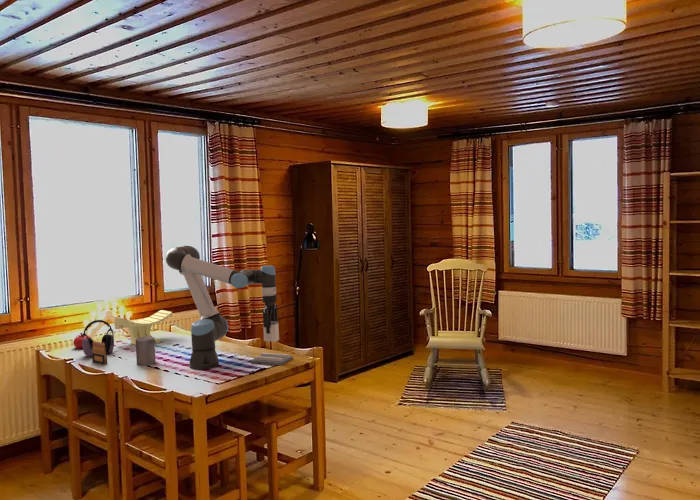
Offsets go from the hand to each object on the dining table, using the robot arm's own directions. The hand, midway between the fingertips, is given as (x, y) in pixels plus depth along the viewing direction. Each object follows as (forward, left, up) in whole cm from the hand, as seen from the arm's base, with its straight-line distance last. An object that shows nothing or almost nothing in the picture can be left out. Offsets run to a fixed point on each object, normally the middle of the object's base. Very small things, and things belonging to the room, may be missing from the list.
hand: (271, 338), depth 309 cm
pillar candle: (-22, +64, -12) cm, 69 cm away
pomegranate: (-2, +128, -12) cm, 129 cm away
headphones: (-13, +105, -12) cm, 107 cm away
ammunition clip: (-28, +90, -12) cm, 95 cm away
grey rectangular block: (0, 0, -1) cm, 1 cm away
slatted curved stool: (+19, +99, -12) cm, 102 cm away
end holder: (0, 0, -12) cm, 12 cm away
